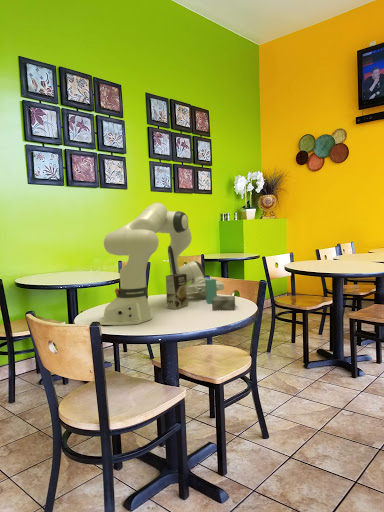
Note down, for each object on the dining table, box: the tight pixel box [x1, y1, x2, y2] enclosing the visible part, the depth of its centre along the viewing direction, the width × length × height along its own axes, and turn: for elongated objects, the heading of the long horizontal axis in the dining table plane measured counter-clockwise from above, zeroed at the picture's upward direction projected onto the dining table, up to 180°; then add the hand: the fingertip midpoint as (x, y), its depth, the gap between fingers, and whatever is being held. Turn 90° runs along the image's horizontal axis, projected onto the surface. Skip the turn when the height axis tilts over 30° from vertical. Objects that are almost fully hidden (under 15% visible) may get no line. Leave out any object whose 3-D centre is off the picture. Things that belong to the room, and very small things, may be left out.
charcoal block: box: [211, 295, 236, 312], centre depth 187 cm, size 10×10×5 cm
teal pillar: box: [205, 278, 218, 305], centre depth 201 cm, size 4×4×12 cm
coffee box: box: [165, 274, 189, 310], centre depth 194 cm, size 9×6×16 cm
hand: (208, 289), depth 205 cm, fingers open, 8 cm apart
